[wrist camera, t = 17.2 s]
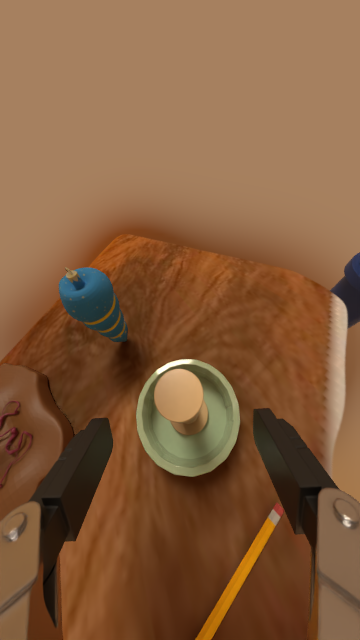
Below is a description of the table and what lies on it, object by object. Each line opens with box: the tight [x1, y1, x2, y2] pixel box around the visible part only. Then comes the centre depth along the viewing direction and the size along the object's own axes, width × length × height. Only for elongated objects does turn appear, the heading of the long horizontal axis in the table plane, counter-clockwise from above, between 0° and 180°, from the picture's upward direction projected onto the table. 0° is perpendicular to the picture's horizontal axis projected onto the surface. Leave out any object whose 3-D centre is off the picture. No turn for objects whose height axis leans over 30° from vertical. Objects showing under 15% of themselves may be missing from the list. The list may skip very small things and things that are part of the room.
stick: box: [154, 369, 208, 436], centre depth 15 cm, size 5×5×15 cm
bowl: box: [136, 359, 240, 477], centre depth 19 cm, size 10×10×5 cm
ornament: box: [59, 268, 128, 342], centre depth 21 cm, size 5×5×15 cm
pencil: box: [195, 503, 284, 640], centre depth 14 cm, size 1×19×1 cm
